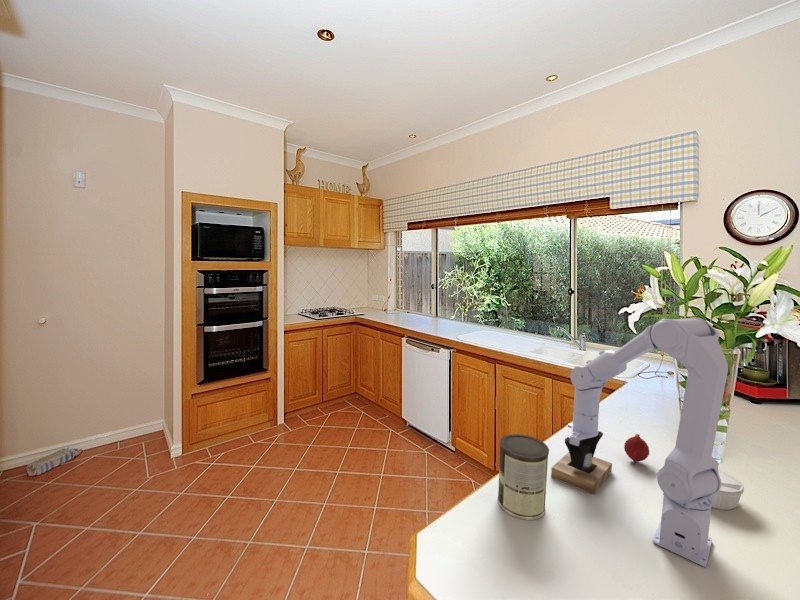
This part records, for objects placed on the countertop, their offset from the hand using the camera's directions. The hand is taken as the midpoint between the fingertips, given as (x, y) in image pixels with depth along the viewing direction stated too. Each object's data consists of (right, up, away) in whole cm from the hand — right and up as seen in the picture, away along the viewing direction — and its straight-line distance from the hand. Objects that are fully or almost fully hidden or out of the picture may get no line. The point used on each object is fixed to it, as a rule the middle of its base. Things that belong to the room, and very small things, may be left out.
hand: (582, 462), depth 91 cm
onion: (+18, -3, +7) cm, 20 cm away
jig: (0, -3, 0) cm, 3 cm away
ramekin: (+26, -5, -8) cm, 28 cm away
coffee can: (-20, -4, -12) cm, 24 cm away
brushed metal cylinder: (0, -3, 0) cm, 3 cm away
